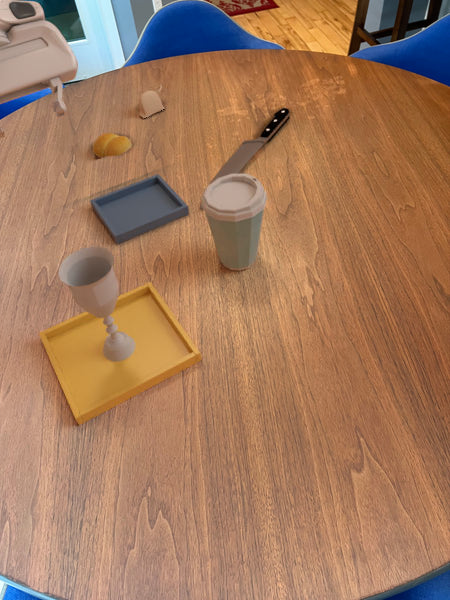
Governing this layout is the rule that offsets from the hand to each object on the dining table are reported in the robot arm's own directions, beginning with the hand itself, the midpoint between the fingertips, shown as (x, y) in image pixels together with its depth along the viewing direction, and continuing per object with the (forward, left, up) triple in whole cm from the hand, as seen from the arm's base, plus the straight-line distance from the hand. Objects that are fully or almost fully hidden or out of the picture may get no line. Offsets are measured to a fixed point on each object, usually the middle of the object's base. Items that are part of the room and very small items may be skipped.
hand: (31, 125), depth 68 cm
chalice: (-2, -22, -27) cm, 35 cm away
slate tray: (+15, +8, -27) cm, 32 cm away
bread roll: (+19, +32, -27) cm, 46 cm away
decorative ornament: (+35, +44, -27) cm, 62 cm away
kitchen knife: (+43, +11, -27) cm, 52 cm away
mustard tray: (-2, -22, -27) cm, 35 cm away
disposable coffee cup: (+24, -15, -27) cm, 39 cm away
